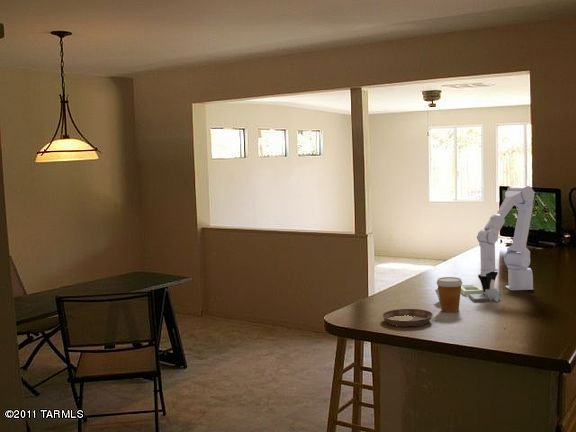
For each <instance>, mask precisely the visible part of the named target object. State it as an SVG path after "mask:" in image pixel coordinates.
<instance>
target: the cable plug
mask: <svg viewBox="0 0 576 432" xmlns="http://www.w3.org/2000/svg"><path fill="white" fill-rule="evenodd" d="M485 293H486V295H485V296H487V297H488V298H489V299H490V300H491V301H492V300H493V301H494V302H497V303H498V302H499V300H500V290H499V289H497V288H495V289H485Z"/></svg>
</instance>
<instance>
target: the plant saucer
mask: <svg viewBox="0 0 576 432" xmlns="http://www.w3.org/2000/svg"><path fill="white" fill-rule="evenodd" d="M404 315H406V316H407V315H409V316H412V317H413V319H412V320H409V321H399V320H391V319H388V318H390V317H394V316H404ZM414 316H415V317H414ZM433 316H434V314H433V312H431V311H429V310H425V309H421V308H420V309H419V308H400V309H399V308H398V309H392V310H388V311H386V312H383V313H382V314H381V317H382V318H383V319H384V321H385V322H386V323H387V324H388V323H389V325H390V324H392V325H391V326H393V325H397V326H396V327H398V326H416V327H421V326H424V324H425V325H427V324H428V323H429V322H430V321H431V319H432V318H433Z"/></svg>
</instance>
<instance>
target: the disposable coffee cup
mask: <svg viewBox="0 0 576 432" xmlns="http://www.w3.org/2000/svg"><path fill="white" fill-rule="evenodd" d="M435 283H436V285H437V289H438V290H439V297H440V302H439V303H440V309H441V312H443V311H447V312H446V313H457V312H456V311H458V312H460V303H461V294H462V293H461V285H463V283H464V282H463V281H462V278H460V277H455V276H445V277H444V276H443V277H438V278H437V280H436V282H435Z"/></svg>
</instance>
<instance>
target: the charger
mask: <svg viewBox="0 0 576 432" xmlns="http://www.w3.org/2000/svg"><path fill="white" fill-rule="evenodd" d="M481 289H483V288H481ZM490 289H496V288H495V283H494V280H493V279H491V283H490ZM484 295H485V296H486V293H485V292H484Z"/></svg>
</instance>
